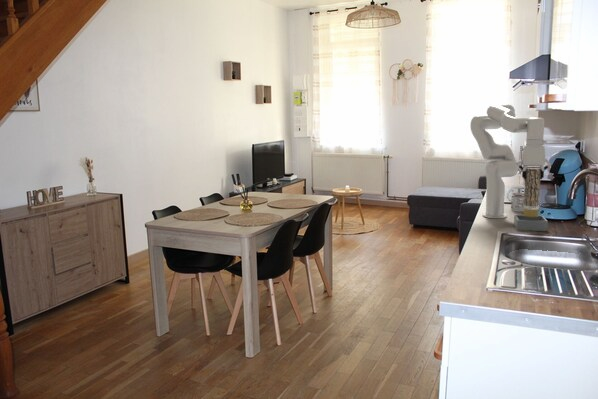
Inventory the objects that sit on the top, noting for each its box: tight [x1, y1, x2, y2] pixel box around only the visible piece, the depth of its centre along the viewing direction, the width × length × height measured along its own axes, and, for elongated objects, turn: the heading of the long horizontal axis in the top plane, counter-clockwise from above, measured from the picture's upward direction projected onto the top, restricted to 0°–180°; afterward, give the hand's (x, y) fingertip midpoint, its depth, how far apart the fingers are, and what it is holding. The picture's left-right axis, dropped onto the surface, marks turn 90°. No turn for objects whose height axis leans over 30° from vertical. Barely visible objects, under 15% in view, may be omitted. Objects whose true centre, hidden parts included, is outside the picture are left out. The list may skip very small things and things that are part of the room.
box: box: [513, 214, 549, 232], centre depth 248 cm, size 14×14×5 cm
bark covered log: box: [523, 166, 541, 218], centre depth 245 cm, size 7×7×25 cm
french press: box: [506, 167, 525, 212], centre depth 292 cm, size 10×12×25 cm
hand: (532, 178), depth 244 cm, fingers closed on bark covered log, 6 cm apart
